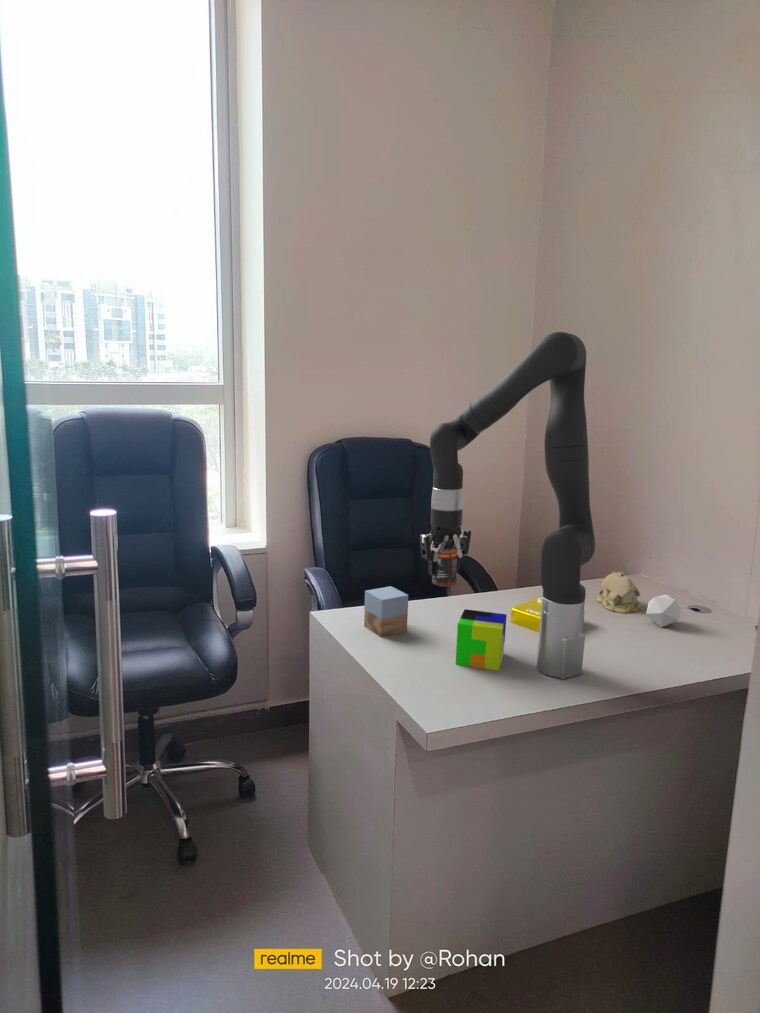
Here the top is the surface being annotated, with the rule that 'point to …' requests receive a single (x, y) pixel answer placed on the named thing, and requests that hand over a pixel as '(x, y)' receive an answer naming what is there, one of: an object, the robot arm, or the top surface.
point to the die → (663, 610)
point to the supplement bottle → (446, 566)
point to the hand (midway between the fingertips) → (444, 573)
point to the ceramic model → (619, 593)
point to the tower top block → (386, 602)
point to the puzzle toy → (481, 639)
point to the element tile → (528, 614)
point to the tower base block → (385, 624)
